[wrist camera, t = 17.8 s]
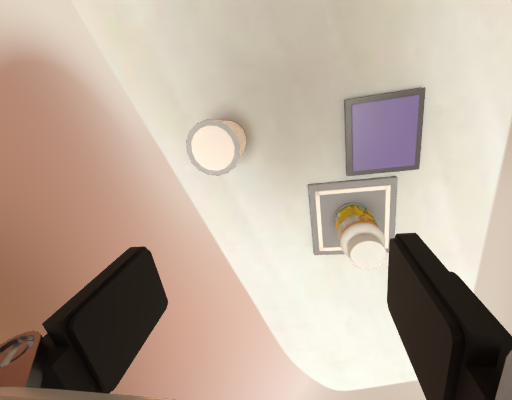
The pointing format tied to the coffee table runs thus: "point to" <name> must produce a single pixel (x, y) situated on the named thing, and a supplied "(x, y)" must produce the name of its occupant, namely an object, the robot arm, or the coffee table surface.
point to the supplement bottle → (360, 236)
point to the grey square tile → (345, 192)
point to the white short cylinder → (215, 146)
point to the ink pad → (384, 132)
